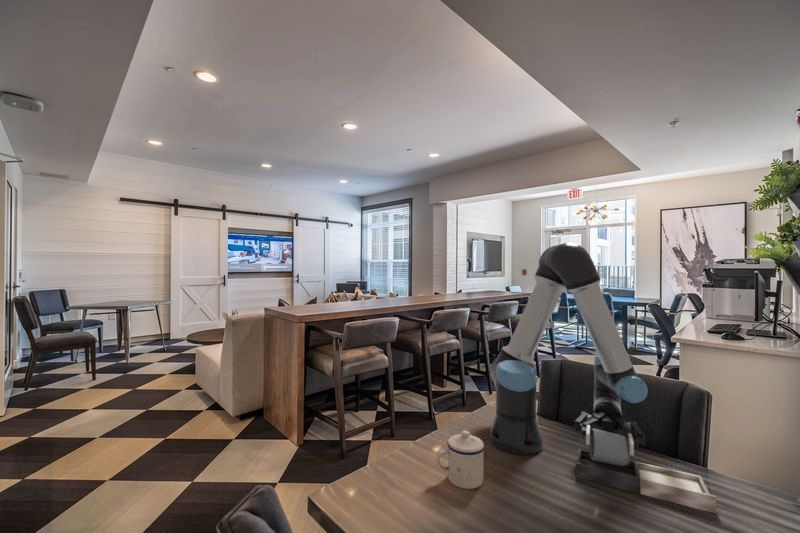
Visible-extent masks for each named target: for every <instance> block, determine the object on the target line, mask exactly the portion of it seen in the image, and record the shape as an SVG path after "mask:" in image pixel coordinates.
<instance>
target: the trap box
mask: <svg viewBox="0 0 800 533" xmlns="http://www.w3.org/2000/svg"><path fill="white" fill-rule="evenodd" d="M577 453H578V454H577V461H576V464H575V467H576V468H575V477H576V478H578V479H582V480H585V481H590V482H593V483H598V484H601V485H605V486H609V487H612V488H616V489H620V490H625V491H628V492H631V493H632V492H633V493H636V494H640V495H644V496H647V497H651V498H655V499H658V500H662V501H666V502H670V503H674V504H677V505H681V506H685V507H689V508H693V509H697V510H700V511H704V512H709V513H711V514H717V496H716V495H714V494H710V492H709V490H708V488H707V486H706V483H705V482H704V480H703V478H702V476H701V475H698V474H693V473H689V472H684V471H680V470H676V469H670V468H666V467H662V466H657V465H653V464H648V463H645V462H640V461H635V460H631V459H630V461H629V464H628V465H626V466H625V467H629V468H633V469H634V473H635V474H634V475H632V474H627V473H623V472H619V471H614V470H611V469H607V468H602V467H599V466H594V465H589V464H586V463H582V459H581V458H582V457H587V458H590V459H591V455H590V450H586V449H581V448H579V449H578V452H577Z"/></svg>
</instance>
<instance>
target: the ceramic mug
mask: <svg viewBox="0 0 800 533" xmlns="http://www.w3.org/2000/svg"><path fill="white" fill-rule="evenodd" d="M589 451H590V455H591V458H590V459H591V460H592V461H594V462H599V463H603V464H604V463H605V464H611V465H615V466H620V467H622V466H623V467H627V466H626V465H628V464H629V461H630V460H631V455H630V448H629V442H628V440H627V438H626V437H624V436H622V435H621V434H617V433H616V432H612V431H608V430H604V429H600V430H599V429H594V428H592V429H591V432H590V444H589Z"/></svg>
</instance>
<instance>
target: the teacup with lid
mask: <svg viewBox="0 0 800 533" xmlns="http://www.w3.org/2000/svg"><path fill="white" fill-rule="evenodd" d="M446 445H447V447H448V448H447V449H442V450H440V451H439V452H437V454H436V455H435V461H436V464H437V466H438V468H439V469H440V470H441V471H443V472H447V473H448V474H447V476H448V480H449V481H450V483H451V484H453V485H454V486H455V487H458V488H460V489H465V490H472V489H476V488H479V487H481V486H482V484H483V483H484V450H485V444H484V442H483V440H482V439H480V438H479V437H478V436H475V435H472V434H471V432H470V431H469V430H463V431H461V433H458V434H454V435H451V436H450V437H449V438H448V440H447V444H446ZM444 455H447V456H448V457H447V459H448V460H447V462H448V464H447V465H448V466H443V465H442V464H441V462H440V459H441V457H442V456H444Z"/></svg>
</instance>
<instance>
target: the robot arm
mask: <svg viewBox="0 0 800 533" xmlns="http://www.w3.org/2000/svg"><path fill="white" fill-rule="evenodd" d="M534 279H535V281H536V283H535V286H534V288H533V290H532V292H531V294H530V297H529V299H528V301H527V303H526V306H525V308H524V310H523V312H522V314H521V316H520V319H519V321H518V323H517V325H516V327H515V330H514V332H513V335H512V336H511V339H510V341H509V343H508V344H507V345H506V346H502V348H501V350H500V351H499V354H498V356H497V357H496V358H495V359H494V360H493V361H492V364H491V366H490V377H491V380H492V382H493V384H494V388H495V417H494V419H493V422H492V426H491V429H490V433H489V434H490V435H489V438H490V442H491V444H492V445H493V446H495V447H496V448H497V449H499V450H501V451H504V452H507V453H510V454H516V455H525V456H526V455H534V454H537V453H540V452H541V451H542V449H543V448H544V447H543V446H544V444H543V441H544V440H543V436H542V432H541V430H540V427H539V424H538V421H537V379H538V377H537V372H536V369H535V368H534V366H535V364H536V362H535V360H534V356H535V353H536V351H537V348H538V347H539V344H540V341H541V340H542V337H543V335H544V333H545V331H546V329H547V326H548V324H549V322H550V319H551V318H552V315H553V313H554V311H555V308H556V306H557V305H558V303H559V301H560V298H561V296H562V294H563V293H564V292H567V291H568V292H569V293H571V294H572V296H573V299H574V301H575V303H576V306H577V308H578V310H579V313H580V316H581V318H582V320H583V323H584V325H585V327H586V329H587V333H588V335H589V336H590V339H591V342H592V344H593V347H594V349H595V351H596V354H597V355H595V356H594V360H593V361H594V363H593V376H594V377H593V379H594V380H593V381H594V382H593V383H594V384H593V411H592V412H593V413H592V414H589V413H587V412H586V411H584V410H583V411H581V413H580V415H579V417H577V418H576V419H575V420H574V429H575V432H580V431H581V436H582V437H585V445H586V446H590V432H591V429H592V428H594V429H598V430H603V431H607V432H614V433H615V434H619V435H622V436H624V437H626V438H627V440H628V442H629V448H630V456H635V449H638V448H639V445H640V446H643V447H644V446H646V435H645V433H644V432H643V431H642V430H641V429H640V427H639V426H638V425H637V422H636V421H634V420H631V421H629V422H626V420H625V419H623V412H622V409H621V408H622V406H621V402H622V401H621V399H622V400H624V401H625V402H627V403H630V404H631V403H632V404H637V403H641V402H643V401H644V400H645V399H646V397H647V395H648V393H649V392H648V391H649V390H648V385H647V384H646V382H645V381H644V380H643V379H642V378H640V377H639V376H638V375H637V373H636V371H635V368H634V366H633V364H632V361H631V359H630V356H629V355H628V352H627V350H626V347H625V344H624V342H623V340H622V337H621V334H620V333H619V330H618V328H617V325H616V323H615V320H614V318H613V316H612V314H611V311H610V309H609V307H608V304H607V301H606V299H605V297H604V294H603V292H602V290H601V288H600V287H601V286H600V282H601V277H600V275H599V273H598V270H597V267H596V266H595V263H594V261H593V259H592V257H591V255H590V254H589V252H588V251H587V249H585V247H583V246H581V245H579V244H578V243H574V242H563V243H561V244H558V245H557V244H556V245H553V246H550V247H548V248H547V249H545V250H543V252H542V253H541V255H540V257H539V261H538V267H537V269H536V272H535V274H534ZM594 365H595V366H594Z"/></svg>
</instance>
